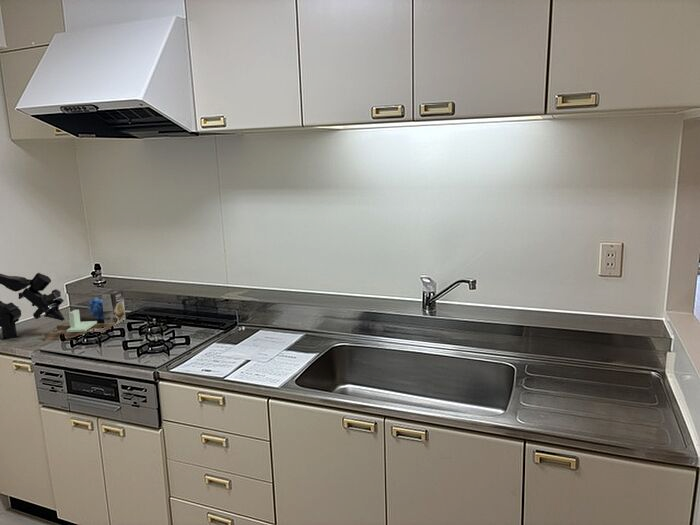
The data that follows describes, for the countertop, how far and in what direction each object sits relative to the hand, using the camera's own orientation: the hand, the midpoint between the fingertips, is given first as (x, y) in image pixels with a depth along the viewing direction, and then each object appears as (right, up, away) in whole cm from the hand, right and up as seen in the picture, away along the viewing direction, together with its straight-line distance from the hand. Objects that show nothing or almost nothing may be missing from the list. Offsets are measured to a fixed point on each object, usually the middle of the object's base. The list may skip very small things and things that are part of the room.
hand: (63, 319), depth 240 cm
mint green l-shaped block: (+8, -4, +1) cm, 9 cm away
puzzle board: (+7, -7, +2) cm, 10 cm away
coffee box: (+15, -4, +19) cm, 25 cm away
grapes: (+5, -3, +25) cm, 25 cm away
